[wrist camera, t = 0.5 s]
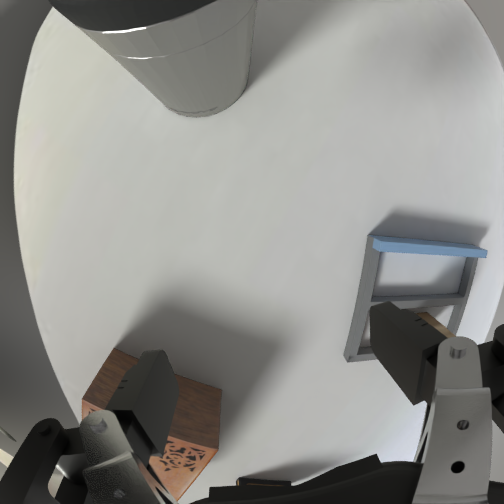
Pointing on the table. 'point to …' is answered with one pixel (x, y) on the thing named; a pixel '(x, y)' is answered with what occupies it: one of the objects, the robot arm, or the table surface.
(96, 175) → the table surface
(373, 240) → the organizer
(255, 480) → the ammunition clip
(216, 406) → the tissue box cover
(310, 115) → the table surface
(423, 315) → the plug block
